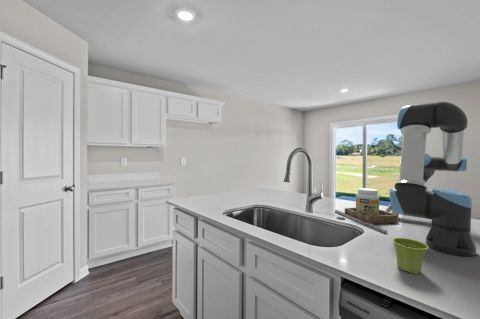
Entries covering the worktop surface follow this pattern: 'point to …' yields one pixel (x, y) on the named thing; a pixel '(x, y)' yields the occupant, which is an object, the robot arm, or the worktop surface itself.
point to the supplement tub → (367, 201)
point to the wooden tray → (381, 218)
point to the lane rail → (362, 222)
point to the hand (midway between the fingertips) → (389, 212)
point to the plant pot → (409, 254)
